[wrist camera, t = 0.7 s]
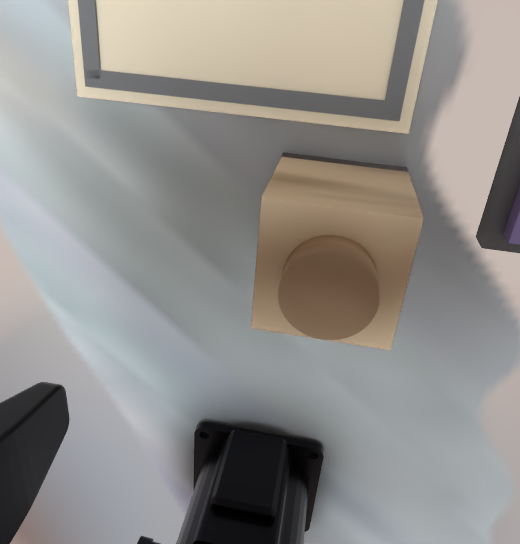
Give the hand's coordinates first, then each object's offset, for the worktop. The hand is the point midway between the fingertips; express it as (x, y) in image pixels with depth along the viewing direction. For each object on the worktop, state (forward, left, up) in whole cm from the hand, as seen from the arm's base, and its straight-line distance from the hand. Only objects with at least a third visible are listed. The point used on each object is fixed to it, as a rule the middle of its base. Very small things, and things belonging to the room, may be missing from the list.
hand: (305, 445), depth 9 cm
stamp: (0, 0, -12) cm, 12 cm away
